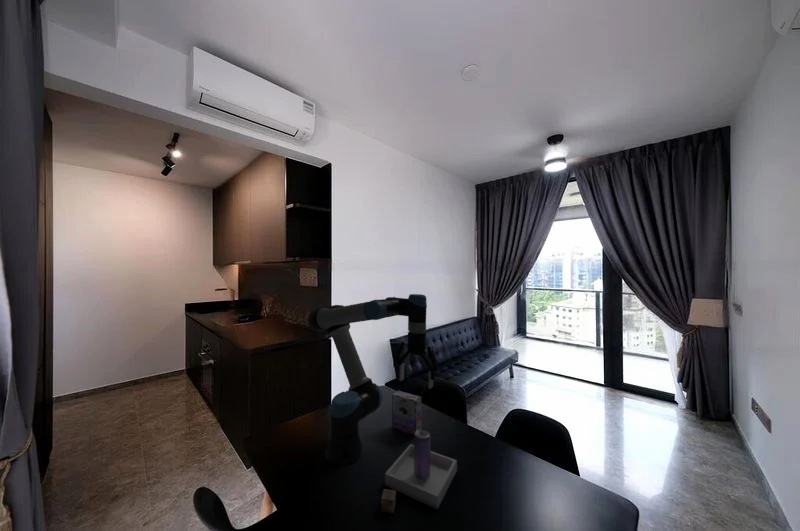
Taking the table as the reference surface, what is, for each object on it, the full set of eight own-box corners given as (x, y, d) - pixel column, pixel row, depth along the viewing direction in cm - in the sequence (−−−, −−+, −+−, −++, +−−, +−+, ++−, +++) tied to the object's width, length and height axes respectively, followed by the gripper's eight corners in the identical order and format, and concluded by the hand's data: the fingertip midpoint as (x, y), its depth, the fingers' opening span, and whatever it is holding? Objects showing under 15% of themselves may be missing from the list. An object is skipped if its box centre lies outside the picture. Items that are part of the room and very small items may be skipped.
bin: (384, 485, 96) (384, 473, 97) (410, 453, 114) (410, 443, 114) (437, 509, 87) (437, 496, 87) (456, 471, 104) (456, 460, 104)
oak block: (381, 511, 86) (381, 498, 86) (383, 501, 90) (384, 488, 90) (393, 513, 85) (393, 500, 85) (395, 502, 89) (395, 490, 89)
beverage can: (425, 483, 96) (426, 440, 97) (411, 477, 99) (411, 434, 100) (432, 473, 101) (433, 432, 102) (418, 467, 104) (418, 427, 105)
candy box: (421, 431, 131) (422, 396, 131) (415, 437, 126) (416, 400, 126) (397, 422, 138) (398, 389, 139) (391, 427, 133) (391, 393, 134)
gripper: (387, 329, 116) (385, 379, 115) (441, 337, 103) (440, 394, 102) (396, 326, 123) (395, 374, 122) (448, 334, 109) (447, 387, 109)
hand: (415, 383), depth 112 cm, fingers open, 13 cm apart
